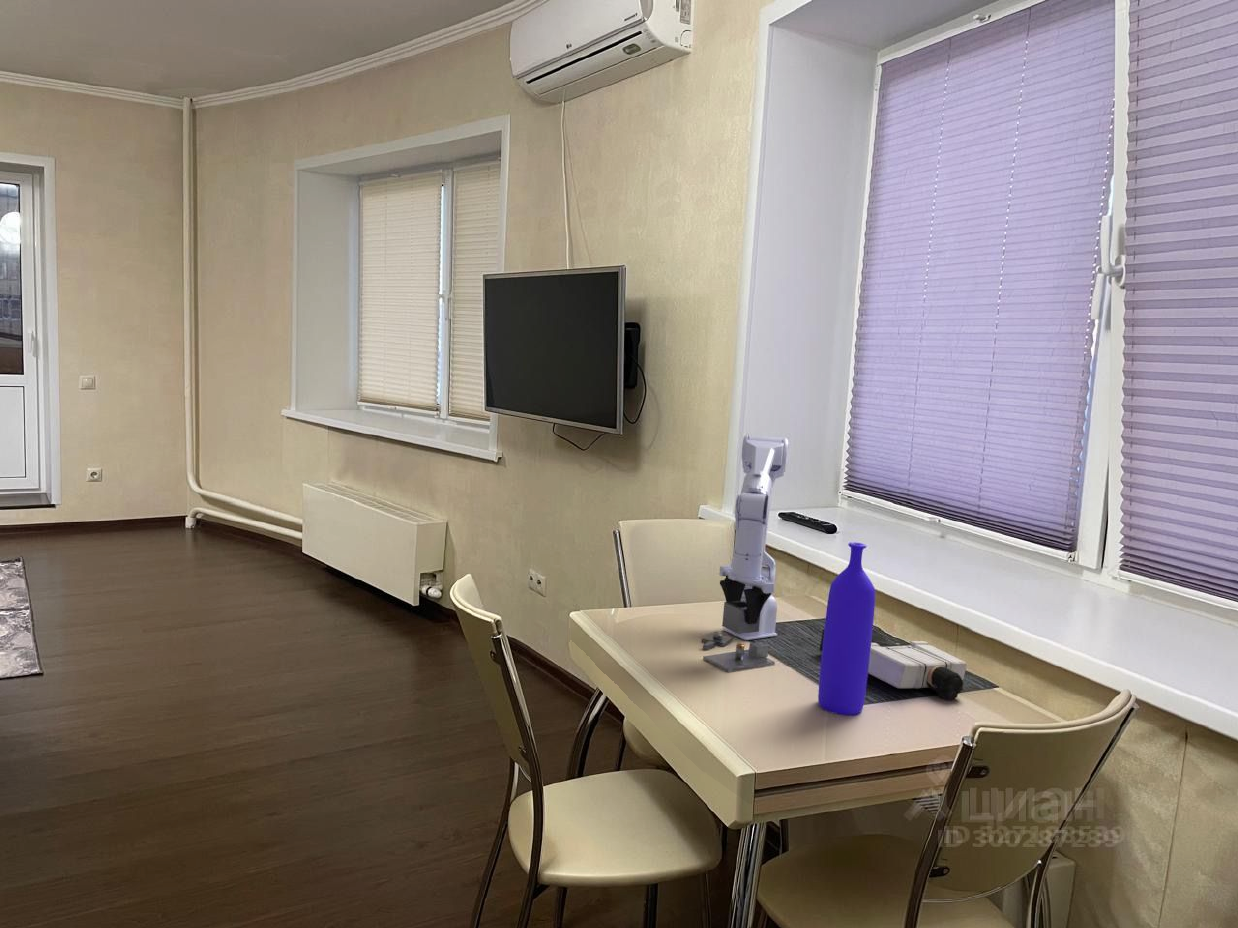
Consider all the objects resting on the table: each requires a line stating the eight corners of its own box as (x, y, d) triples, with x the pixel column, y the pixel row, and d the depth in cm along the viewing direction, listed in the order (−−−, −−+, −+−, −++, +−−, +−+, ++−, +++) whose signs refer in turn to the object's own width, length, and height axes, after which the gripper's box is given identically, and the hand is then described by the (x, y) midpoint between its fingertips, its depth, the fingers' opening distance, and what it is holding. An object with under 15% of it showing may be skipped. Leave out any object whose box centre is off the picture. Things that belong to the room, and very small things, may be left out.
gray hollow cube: (742, 623, 193) (744, 599, 192) (758, 631, 188) (761, 607, 188) (722, 626, 190) (724, 602, 189) (738, 634, 186) (740, 609, 185)
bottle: (865, 719, 165) (883, 551, 161) (816, 712, 166) (833, 545, 162) (862, 702, 173) (880, 541, 169) (816, 695, 174) (832, 536, 171)
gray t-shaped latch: (711, 636, 206) (711, 628, 205) (732, 641, 203) (733, 633, 203) (693, 647, 197) (694, 638, 197) (715, 652, 195) (716, 643, 195)
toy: (808, 654, 197) (919, 709, 172) (813, 621, 196) (926, 672, 171) (873, 650, 207) (987, 702, 182) (878, 619, 206) (994, 667, 181)
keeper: (750, 651, 197) (752, 635, 196) (776, 664, 190) (778, 647, 190) (703, 659, 190) (704, 641, 190) (728, 672, 184) (729, 654, 183)
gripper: (710, 545, 191) (704, 610, 193) (756, 562, 179) (750, 631, 181) (737, 544, 195) (731, 607, 197) (784, 560, 183) (778, 628, 185)
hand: (742, 619), depth 189 cm, fingers closed on gray hollow cube, 5 cm apart
